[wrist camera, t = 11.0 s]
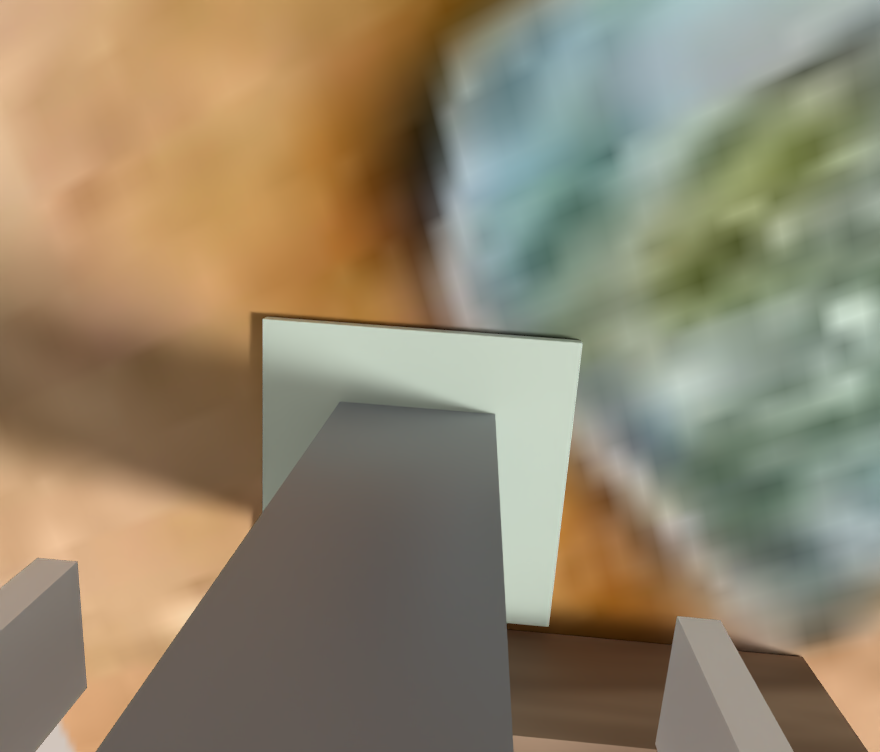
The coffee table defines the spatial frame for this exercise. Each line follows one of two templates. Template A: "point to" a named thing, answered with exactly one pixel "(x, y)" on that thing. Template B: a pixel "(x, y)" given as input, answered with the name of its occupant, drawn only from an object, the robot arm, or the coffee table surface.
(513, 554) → the mat
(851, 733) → the brown square frame
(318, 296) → the coffee table surface
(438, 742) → the plug
